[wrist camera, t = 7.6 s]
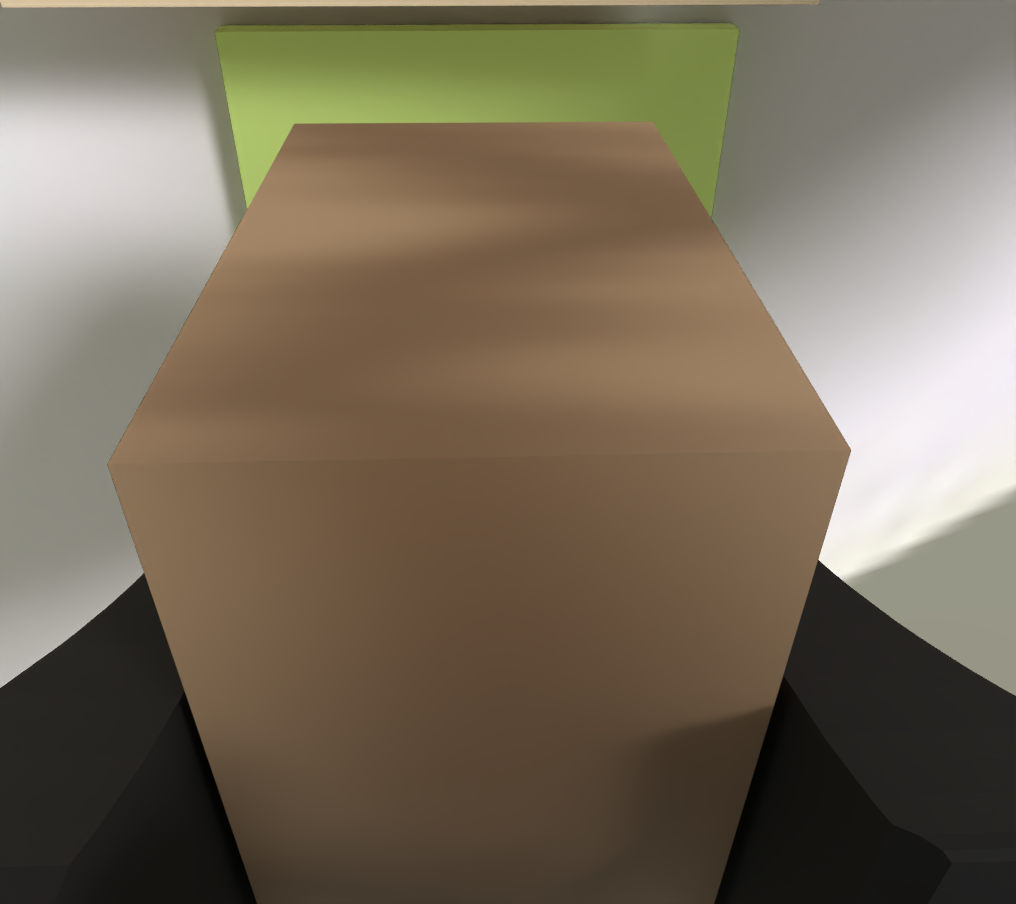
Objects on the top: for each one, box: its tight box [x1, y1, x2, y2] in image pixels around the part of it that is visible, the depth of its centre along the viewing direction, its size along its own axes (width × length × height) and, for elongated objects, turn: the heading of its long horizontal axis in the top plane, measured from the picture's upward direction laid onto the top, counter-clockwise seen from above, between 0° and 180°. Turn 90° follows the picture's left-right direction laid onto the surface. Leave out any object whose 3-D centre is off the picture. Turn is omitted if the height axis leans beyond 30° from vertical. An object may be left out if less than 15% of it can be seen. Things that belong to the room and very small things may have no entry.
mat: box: [215, 23, 739, 217], centre depth 20 cm, size 10×12×1 cm
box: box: [107, 122, 851, 904], centre depth 11 cm, size 4×9×7 cm, turn 0°
